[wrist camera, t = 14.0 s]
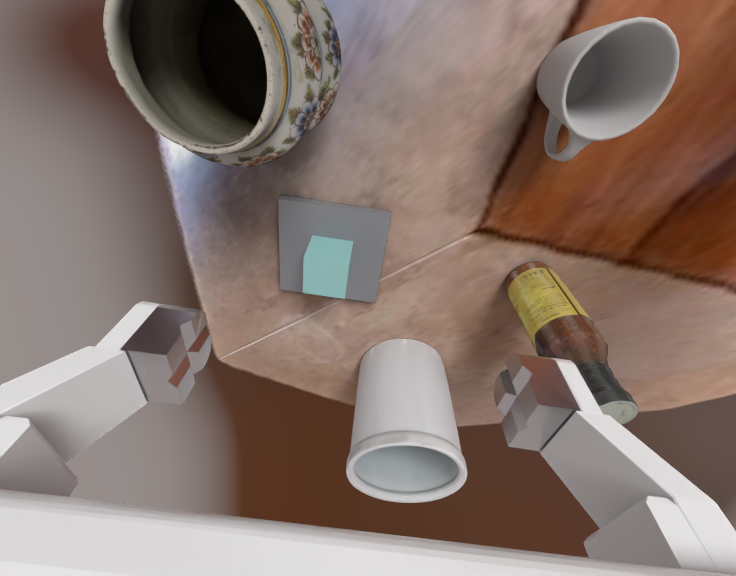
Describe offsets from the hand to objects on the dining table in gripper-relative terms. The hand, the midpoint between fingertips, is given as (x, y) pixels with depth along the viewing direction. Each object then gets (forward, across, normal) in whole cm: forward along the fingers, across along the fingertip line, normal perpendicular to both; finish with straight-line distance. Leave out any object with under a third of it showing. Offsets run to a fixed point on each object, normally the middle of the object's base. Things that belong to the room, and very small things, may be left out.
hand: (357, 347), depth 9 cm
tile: (+31, +4, +16) cm, 35 cm away
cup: (+31, -16, -5) cm, 36 cm away
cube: (+30, +4, +16) cm, 34 cm away
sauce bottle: (+31, -22, +16) cm, 42 cm away
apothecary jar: (+31, +10, -4) cm, 33 cm away
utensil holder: (+31, -9, +36) cm, 49 cm away
